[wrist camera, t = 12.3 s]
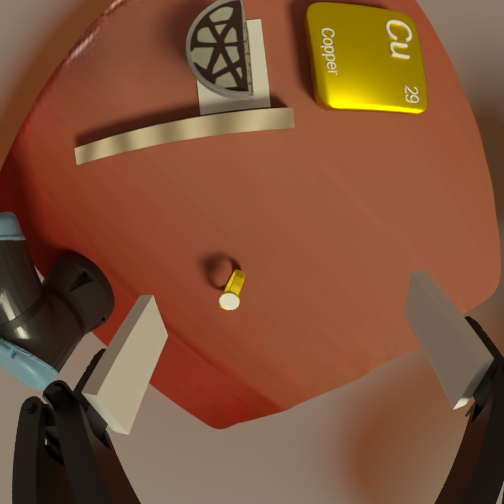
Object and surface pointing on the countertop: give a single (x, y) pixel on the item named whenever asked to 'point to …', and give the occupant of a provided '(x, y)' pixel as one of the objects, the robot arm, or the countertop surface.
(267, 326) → the countertop surface
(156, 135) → the maple straightedge
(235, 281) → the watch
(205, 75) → the food container
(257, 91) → the plate
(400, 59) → the element tile
